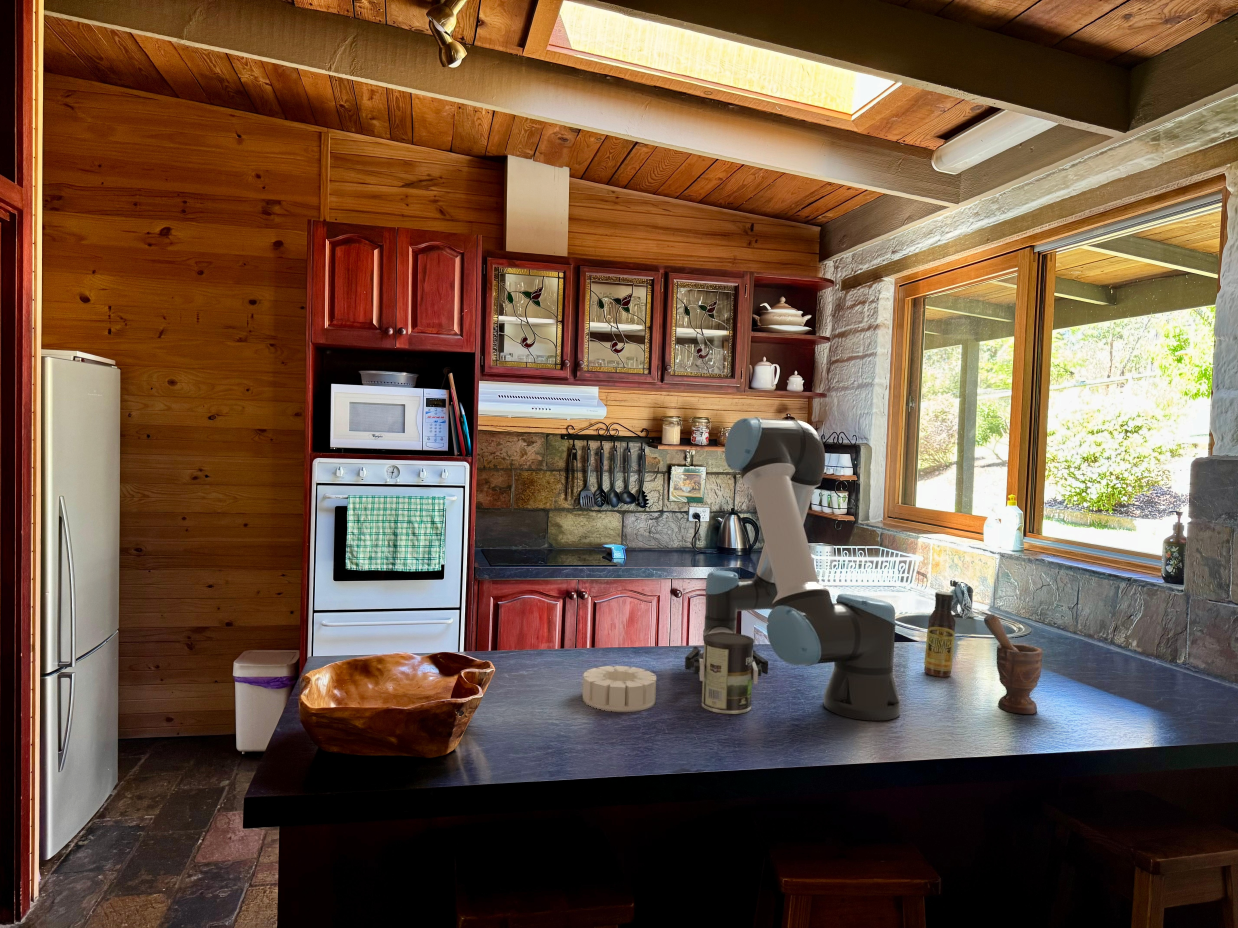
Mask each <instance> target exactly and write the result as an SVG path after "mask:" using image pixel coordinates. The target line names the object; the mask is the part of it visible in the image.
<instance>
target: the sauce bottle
mask: <svg viewBox="0 0 1238 928" xmlns="http://www.w3.org/2000/svg"><path fill="white" fill-rule="evenodd" d="M934 593H935V594H934V597H935V598H934V599H935V601H934V603H935V604H934V610H933V611H932V613H931V614H930V616H929V617H928V624H927V629H926V631H927V632H926V640H925V642H926V643H925V649H924V650H925V651H924V652H925V653H924V664H923V666H924V668H923V671H924V672H925V673H926V675H930V676H932V677H941V678H948V677H950V676H951V674H952V670H953V669H952V668H953V661H954V660H953V659H954V658H953V657H954V648H955V637H956V633H955V632H956V619H955V618H954V617H955V616H954V615H953V613H952V606H953V604H952V603H953V600H954V593H953V592H952V593H951V592H947V591H936V592H934Z"/></svg>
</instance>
